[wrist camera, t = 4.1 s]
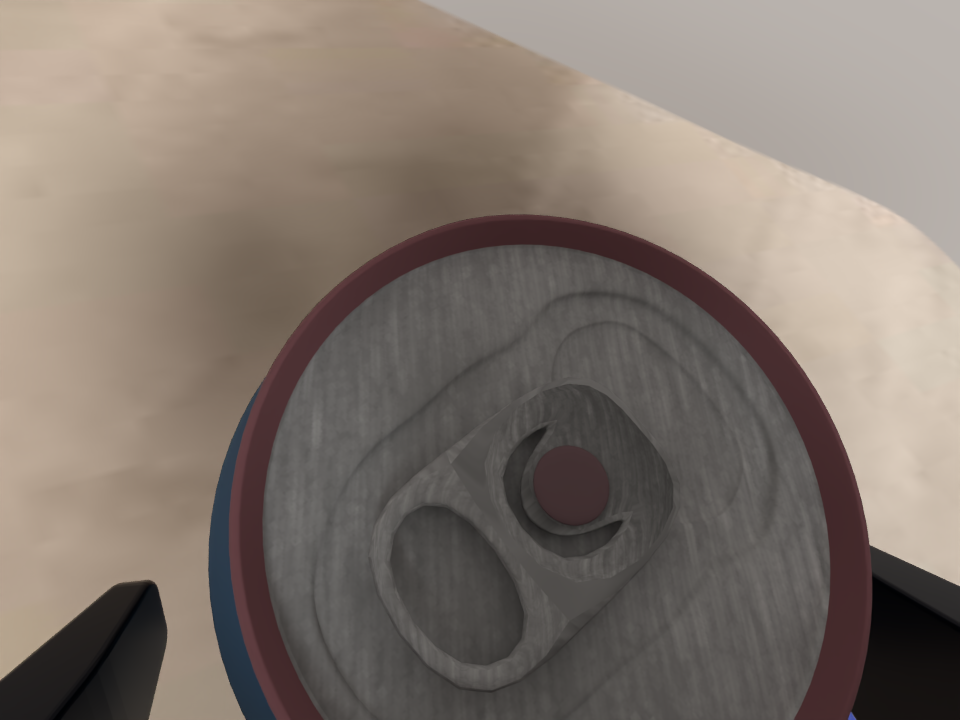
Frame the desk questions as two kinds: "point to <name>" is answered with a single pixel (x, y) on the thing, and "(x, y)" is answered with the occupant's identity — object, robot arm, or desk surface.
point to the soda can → (538, 497)
